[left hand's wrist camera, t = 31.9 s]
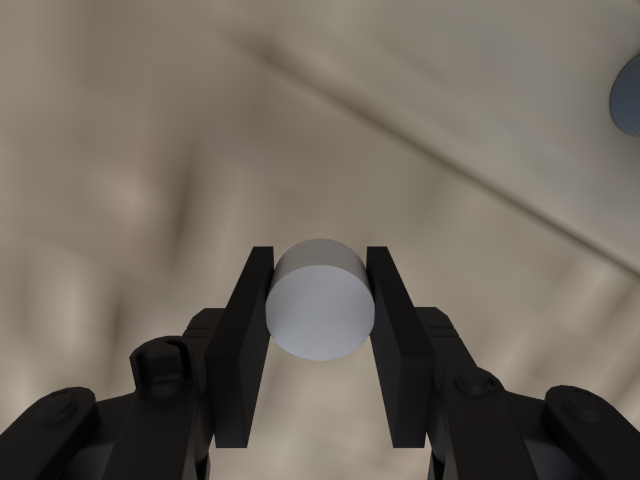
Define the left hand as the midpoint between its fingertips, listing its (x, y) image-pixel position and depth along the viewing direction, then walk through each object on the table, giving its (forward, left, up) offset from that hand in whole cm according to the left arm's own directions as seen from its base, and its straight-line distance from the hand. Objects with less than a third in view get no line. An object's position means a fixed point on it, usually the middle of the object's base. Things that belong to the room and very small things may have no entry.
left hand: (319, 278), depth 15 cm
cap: (0, 0, +2) cm, 2 cm away
